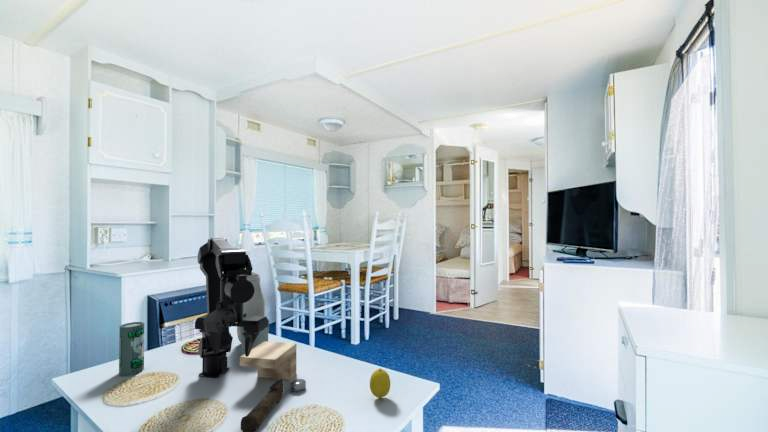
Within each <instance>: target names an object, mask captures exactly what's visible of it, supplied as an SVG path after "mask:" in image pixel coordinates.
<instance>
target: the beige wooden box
mask: <svg viewBox="0 0 768 432" xmlns="http://www.w3.org/2000/svg"><path fill="white" fill-rule="evenodd" d="M239 366H241V367H250V368H251V367H252V368H257V369H256V370H257V376H256V377H257V378H259V377H260V378H266V379H267V378H270V379H277V380H280V379H282V380H291V381H292V379H293V378H294V377H295V376H296V375H297V342H294V343H293V342H282V341H280V342H279V341H269V340H268V341H264V342H263V343H261V344H259V345H258V346H256V347H255V348H253V349H251V352H250V354H249V356H247V357H246V356H245V354H243V355H242V354H241V355H240V356H239Z"/></svg>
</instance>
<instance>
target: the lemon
mask: <svg viewBox="0 0 768 432" xmlns="http://www.w3.org/2000/svg"><path fill="white" fill-rule="evenodd" d="M369 388H370V392H371V394H372V395H373V396H374V397H376V398H377V399H379V400H382V398H384V397H386V396H387V395H388V394H389V392H390V390H391V378H390V375H389V373H388V372H387V371H386V370H384V369H382V368H378V369H376V370H374V371H373V372H372V374H371V376H370V379H369Z"/></svg>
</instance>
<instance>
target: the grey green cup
mask: <svg viewBox="0 0 768 432" xmlns="http://www.w3.org/2000/svg"><path fill="white" fill-rule="evenodd" d="M268 320H269V321H270V319H269V318H268ZM269 331H270V325H269V326H268V327H267V328H265V329H264V330H262V331H260V333H259V335H258V336H257V338H256V340H255V342H254V345H253V347H252V349H253V348H255V347H256V346H258V345H259V344H261V343H263V342H264V341H268V342H269ZM244 332H245V330H244V329H243V327H240V333H241V340H242V341H241V342H240V344H241V353H242V354H241V356H242V355H243V354H245V337H244V335H243V333H244Z"/></svg>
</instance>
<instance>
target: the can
mask: <svg viewBox="0 0 768 432" xmlns="http://www.w3.org/2000/svg"><path fill="white" fill-rule="evenodd" d="M118 339H119V341H118V342H119V343H118V344H119V346H118V347H119V348H118V355H119V356H118V375H119V376H120V377H121V376H122V377H129V376H134V375H136V374H139V373H142V372H143V370H144V369H145V322H144V321H132V322H127V323H124V324H121V325H119V338H118Z"/></svg>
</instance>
